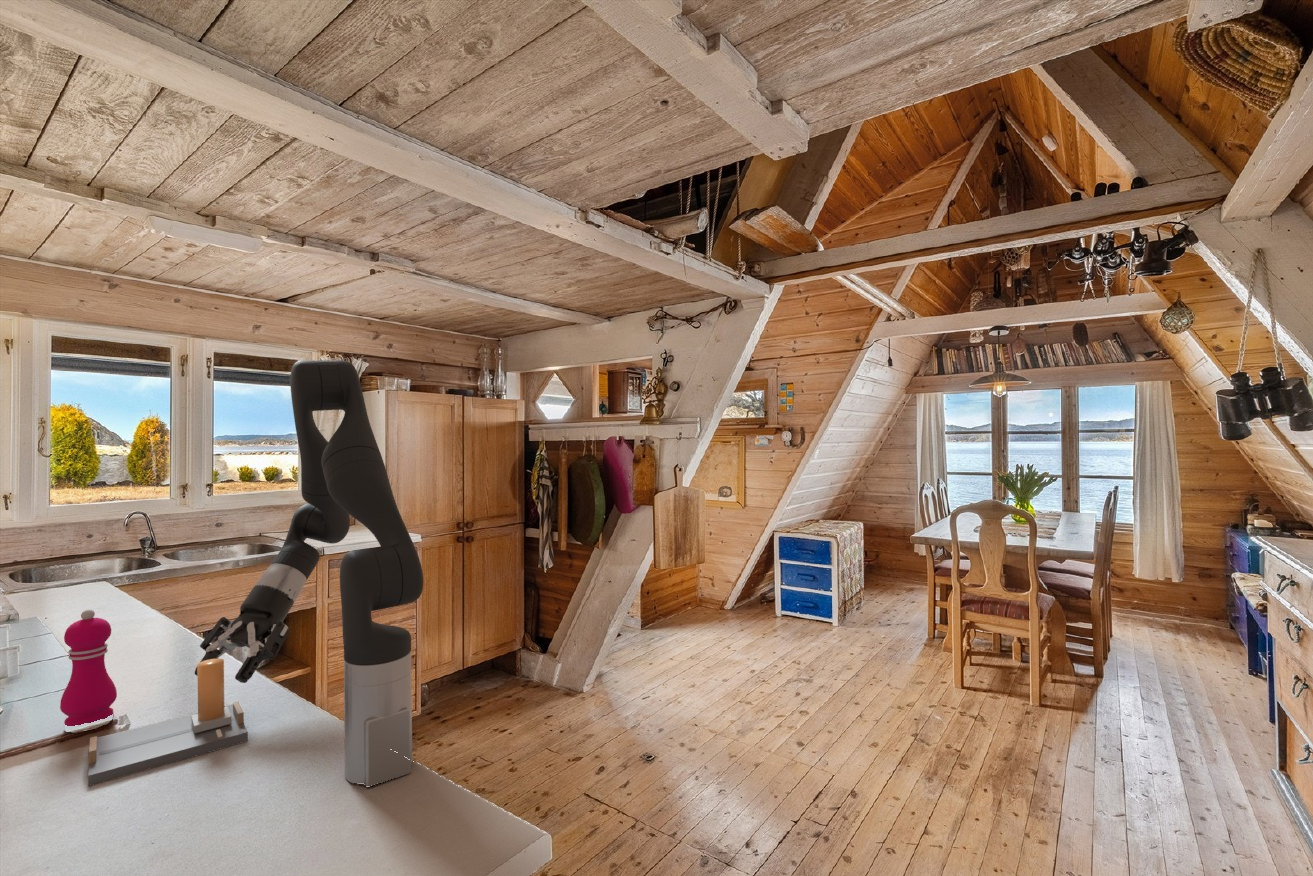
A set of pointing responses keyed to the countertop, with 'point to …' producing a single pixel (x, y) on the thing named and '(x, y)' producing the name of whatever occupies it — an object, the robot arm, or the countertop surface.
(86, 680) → the pepper mill
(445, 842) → the countertop surface
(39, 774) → the countertop surface
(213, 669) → the fader
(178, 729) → the fader track
